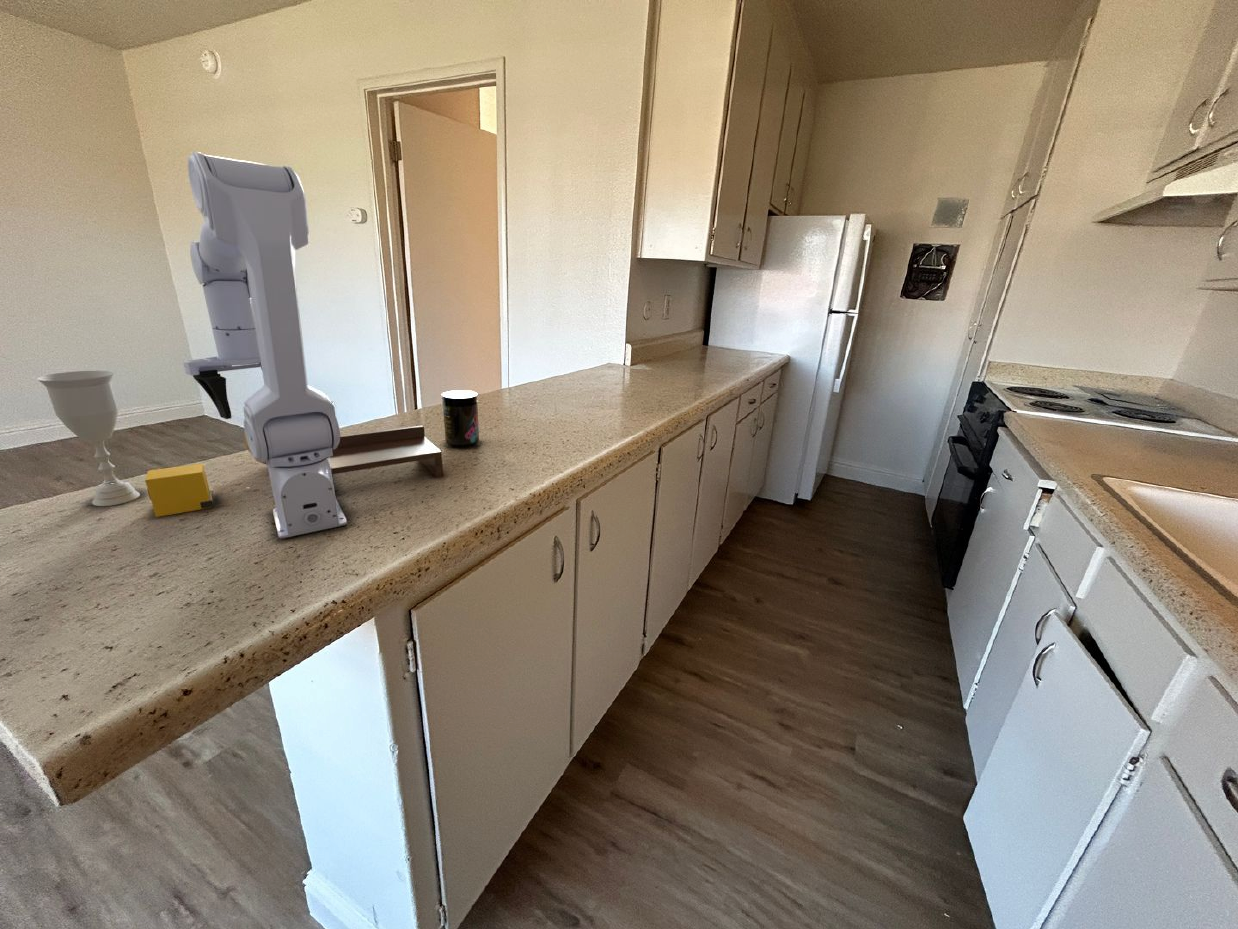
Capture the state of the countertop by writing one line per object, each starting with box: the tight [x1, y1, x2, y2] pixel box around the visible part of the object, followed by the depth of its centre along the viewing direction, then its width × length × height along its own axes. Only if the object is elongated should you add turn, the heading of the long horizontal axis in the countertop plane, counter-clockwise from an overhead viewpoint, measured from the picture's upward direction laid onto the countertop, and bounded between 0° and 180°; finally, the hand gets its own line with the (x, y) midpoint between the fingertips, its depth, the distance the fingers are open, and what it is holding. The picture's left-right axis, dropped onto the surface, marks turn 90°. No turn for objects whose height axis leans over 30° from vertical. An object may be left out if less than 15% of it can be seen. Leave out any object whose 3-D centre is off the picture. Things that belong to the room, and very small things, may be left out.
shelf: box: [329, 425, 444, 478], centre depth 86 cm, size 10×18×6 cm, turn 126°
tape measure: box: [144, 463, 215, 518], centre depth 72 cm, size 4×6×6 cm, turn 126°
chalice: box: [36, 370, 141, 507], centre depth 71 cm, size 7×7×18 cm
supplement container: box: [441, 390, 480, 449], centre depth 103 cm, size 7×7×10 cm
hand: (252, 413), depth 84 cm, fingers open, 7 cm apart
